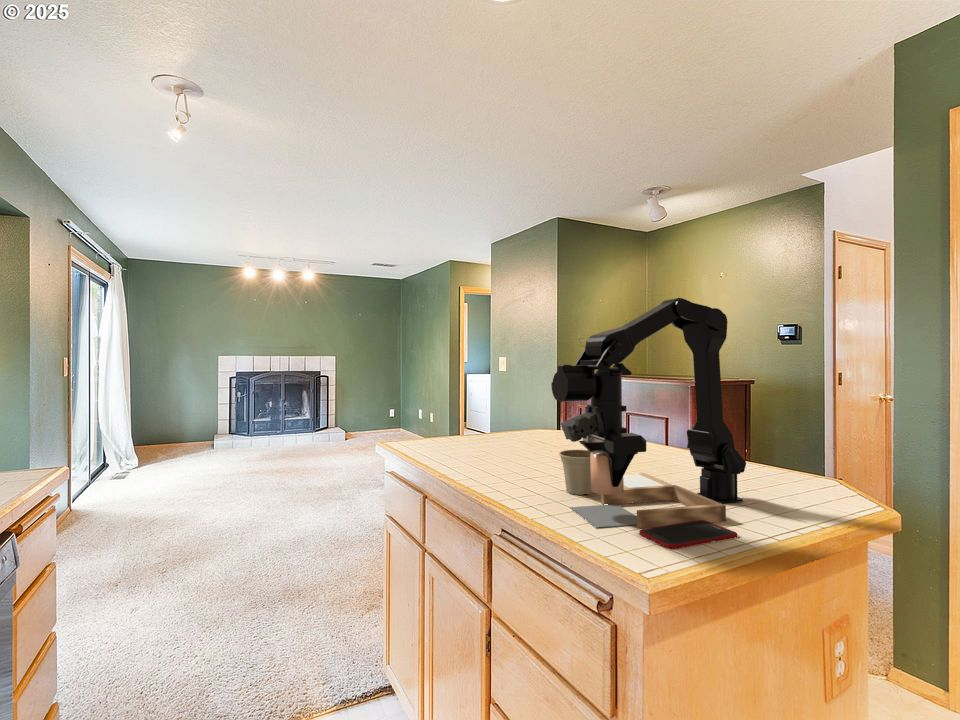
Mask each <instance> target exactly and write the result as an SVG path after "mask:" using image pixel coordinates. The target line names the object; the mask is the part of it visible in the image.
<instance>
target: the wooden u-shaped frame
mask: <svg viewBox="0 0 960 720" xmlns="http://www.w3.org/2000/svg"><path fill="white" fill-rule="evenodd" d="M673 499H674V500H673ZM657 500H666V501H675V500H676V502H677V501H678V503H679V502H680V503H679V504H681V503H682V504H681V505H684V506H675V507H672V506H671V507H663V508H661V507H660V508H650V509H649V508H648V509H637V510H636V516H637V525H636V527H637V528H639V529H648V528H654V527H660V526H666V525H673V524H679V523H685V522H691V521H698V520H705V521H708V522H711V523H718V522H726V521H727V509H726V508H727V507H726V505H725V504H724V503H718V502H716V501H713V500H711V499H709V498H706V497H704V496H701V495H699V494H697V492H694V491H692V490H689V489H686V488H685V487H682V486H679V485H677V484H672V485H665V486H650V487H635V488H624V492H623V493H621V494H617V495H604V494H600V504H601V503H602V504H601V505H603V504H617V505H620V504H619V503H625V504H633V503H632V502H638V503H645V502H644V501H652V502H658V501H657Z"/></svg>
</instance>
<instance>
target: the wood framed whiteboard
mask: <svg viewBox="0 0 960 720" xmlns="http://www.w3.org/2000/svg"><path fill="white" fill-rule="evenodd" d="M623 480H624V488H635V487H650V486H665V485H673V484H672V483H669V482H667V481H664V480H662V479H659V478H656V477H654V476H652V475H650V474H648V473H645V472H640V473H638V474H627V475H625V474H624V476H623Z"/></svg>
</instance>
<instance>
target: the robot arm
mask: <svg viewBox="0 0 960 720" xmlns="http://www.w3.org/2000/svg"><path fill="white" fill-rule="evenodd" d="M669 325H672V326H673V327H675V328H676V329H679V330H681V331H682V333H683V339H684V341H685V343H686V345H687V346H688V348H689V349H690V351H691V352H692V356H693V357H692V358H693V359H692V360H693V376H694V390H695V392H694V393H695V408H696V409H695V410H696V421H695V424H694V426H693V427H692V428H688V429H687V431H686V436H687V445H686V449H689V453H690V456H691V457H692V459H693V463H694V466H695V467H696V468H697V467H698V468H699V467H700V469H701V472H700V474H701V475H700V476H699V492H696V494H699V495H701V496H704V497H706V498H709V499H711V500H713V501H716V502H718V503H721V504H725V503H727V504H728V503H738V502H743V501H744V499H743V497H739V496H738V475H740V474H742V473H744V472H745V470H746V466H747V462H746V460H745V459H744V458H743V457H742V455H741V454H740V453H739V452H738V451H737V449H736V448H735V443H734V442H735V441H734V437H733V433H732V432H731V430H730V429H729V427H728V426H727V424H726V423H725V421H724V410H723V409H724V408H723V397H722V396H723V395H722V394H723V393H722V377H721V364H720V363H721V361H720V351H721V349H722V347H723V346H724V344H725V341H726V339H727V336H728V318H727V314H725V313H724V312H723V311H722V310H721V309H720V308H717V307H716V308H715V307H711V306H708V305H704V304H699V303H697V302H696V303H695V302H692V301H690V300H688V299H685V298H683V297H677V298H671V299H665V300H663V301H662V302H661V303H659V304H658V305H657V306H654V307H653V308H651V309H650V310H648V311H646V312H644V313H643V314H641V315H640V316H637V317H635V318H634V319H632V320H630V321H629V322H628V323H627V322H626V324H624V325H622V326H619V327H617V328H612V329H609V330H604V331H601V332H599V333H596V334H593V335H590V336H589V337H588V338H587V340H585V346H584V349H583V351H582V352H581V354H580V356H579V357H578V359H577V361H576V362H575V364H574V365H572V364H571V365H570V364H558V365H557V371H556V372H555V373H554V375H553V378H552V381H551V393H552V396H553V397H554V399H555V400H556V401H557V402H558V403H568V402H571V403H572V402H587V401H589V400H590V404H586V406H585V413H582V414H579V415H576V416H574V417H571V418H569V419H567V420H564V421H563V422H561V423H560V426H561V428H562V432H563V433H564V437H565V439H566V440H570V441H571V442H572V443H574V442H578V443H579V444H580V445H582V446H583V447H584V448H585V450H588V451H589V454H590V453H591V452H593V451H596V450H601V452H602V453H603V454H604V455H605V456H606V457H607V458H608V462H609V470H610V478H611V484H612V486H613V487H618V486H619V484H620V482H621V480H622V478H623V476H625V473H626V472H627V470H628V467H629V466H630V464H631V462H632V460H633V459H634V457H635V455H638V454H639V453H645V452H647V439H645V437H644V436H643V435H641V434H637V433H635V432H628V431H627V430H628V428H627V427H624V426H623V412H627V405H624V404H623V398H622V397H623V395H622V394H623V393H622V392H623V387H622V386H623V384H622V381H623V379H622V378H623V377H622V376H631V375H632V371H631V370H630V369H629V368H627V367H626V366H625V364H624V363H623V361H624V360H626V359H627V358H628V357H629V356H630V355H631V354H632V353H633V352H634V350H635V349H636V346H637V345H638V344H639V343H641V342H642V341H644V340H645V339H647V338H649V337H650V336H653V334H656V333H657V332H659V331H660V330H662V329H664V328H666V327H667V326H669ZM595 370H597V371H596V372H595Z"/></svg>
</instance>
